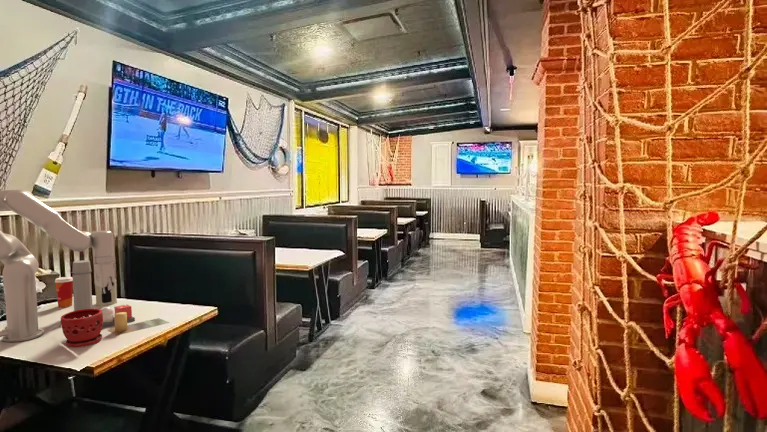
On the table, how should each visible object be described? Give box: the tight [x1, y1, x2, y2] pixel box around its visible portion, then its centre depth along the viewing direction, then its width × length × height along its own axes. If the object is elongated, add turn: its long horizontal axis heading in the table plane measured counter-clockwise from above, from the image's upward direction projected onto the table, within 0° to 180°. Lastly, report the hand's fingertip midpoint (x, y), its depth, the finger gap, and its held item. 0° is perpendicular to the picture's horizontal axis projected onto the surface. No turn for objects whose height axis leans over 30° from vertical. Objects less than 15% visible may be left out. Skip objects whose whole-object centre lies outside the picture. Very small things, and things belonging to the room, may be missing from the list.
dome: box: [100, 306, 115, 324], centre depth 188 cm, size 6×6×7 cm
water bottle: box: [70, 259, 93, 311], centre depth 204 cm, size 9×8×25 cm
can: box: [94, 279, 118, 307], centre depth 224 cm, size 9×9×12 cm
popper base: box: [96, 304, 136, 329], centre depth 190 cm, size 14×8×7 cm, turn 141°
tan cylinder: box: [114, 312, 128, 332], centre depth 181 cm, size 4×4×7 cm
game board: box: [107, 317, 170, 336], centre depth 186 cm, size 21×10×1 cm, turn 141°
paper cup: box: [54, 276, 74, 308], centre depth 218 cm, size 8×8×14 cm
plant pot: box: [60, 308, 103, 348], centre depth 167 cm, size 13×13×12 cm
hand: (106, 302), depth 188 cm, fingers closed
